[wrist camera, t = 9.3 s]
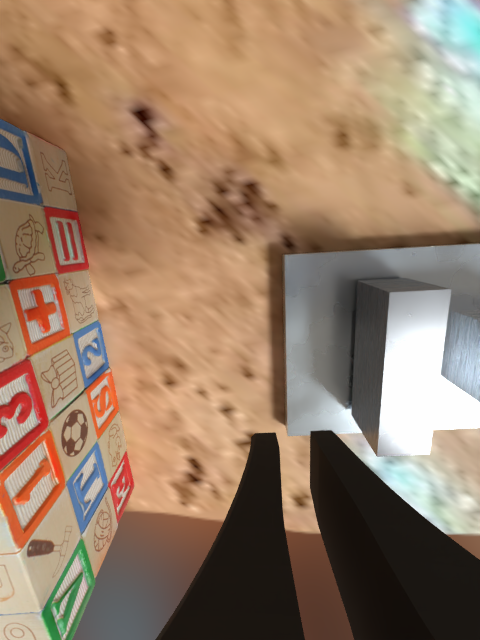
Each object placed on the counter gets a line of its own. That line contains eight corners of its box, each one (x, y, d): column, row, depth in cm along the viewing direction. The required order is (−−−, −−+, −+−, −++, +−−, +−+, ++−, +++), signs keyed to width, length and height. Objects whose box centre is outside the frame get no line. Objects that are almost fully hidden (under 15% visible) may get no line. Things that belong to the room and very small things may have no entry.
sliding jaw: (405, 277, 16) (451, 289, 12) (393, 412, 18) (429, 454, 14) (357, 280, 16) (389, 292, 12) (351, 414, 18) (377, 456, 14)
